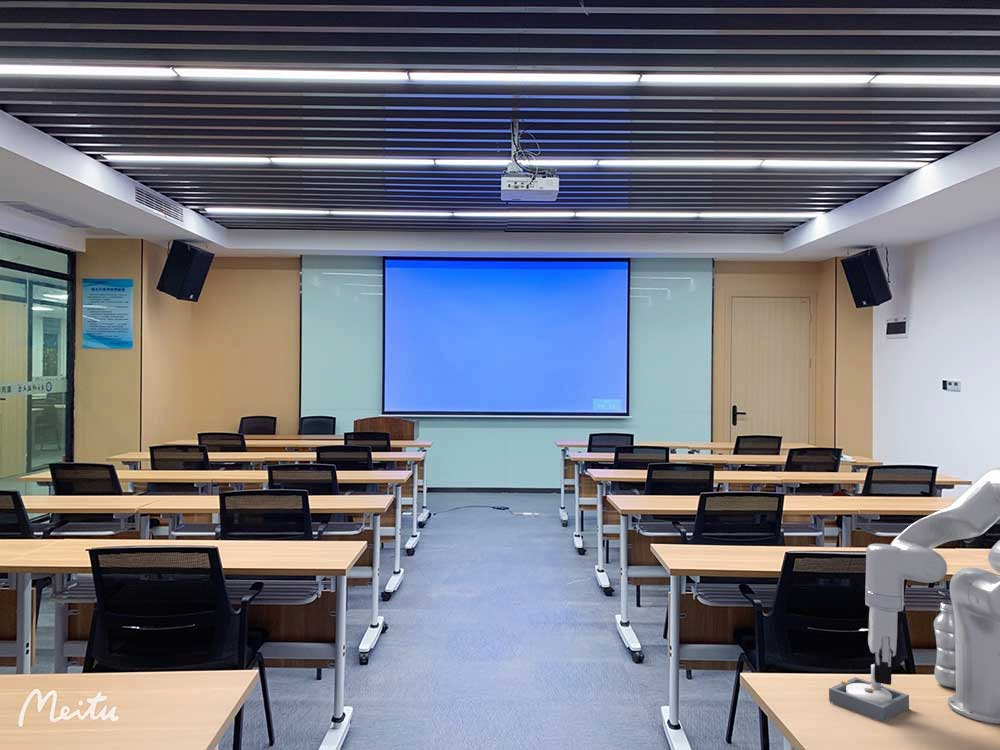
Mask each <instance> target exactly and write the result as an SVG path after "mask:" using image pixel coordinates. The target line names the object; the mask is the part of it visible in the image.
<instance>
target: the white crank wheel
mask: <svg viewBox="0 0 1000 750" xmlns="http://www.w3.org/2000/svg"><path fill="white" fill-rule="evenodd" d="M874 670H875V663H873V664H871V665H870V682H871V685H870V684H864V683H852V684H848V685H847V686H846V693H848V694H851V695H854V696H856V697H859V698H862V699H865V700H868V701H870V702H873V703H876V704H879V705H882V704H884V703H886V702H888V701H890V700H892V695H891V693H890V692H888V691H887V690H885V689H883V688H881V683H876V682H875V679H874Z"/></svg>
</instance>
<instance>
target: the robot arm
mask: <svg viewBox="0 0 1000 750" xmlns="http://www.w3.org/2000/svg"><path fill="white" fill-rule="evenodd" d="M999 520H1000V467H994V468H991V469H988V470H986V471H985V472H984V473H983V474H982V475H981V476H979V478H978V479H976V480H975V481H974V482H973V483H972V484H971V485H970V486H969V487H968V488H966V490H964V491H963V492H962V493H961V494H960V495H959V496H958V497H957V498H956V499H955V500H953V501H952V502H951V503H950V504H949V505H947V506H946V507H945V508H941V509H939V510H937V511H935V512H933V513H931V514H929V515H927V516H925V517H922V518H920V519H918V520H916V521H915V522H914V523H913V522H912V524H910V525H909V526H908V527H907V528H905V529H904V530H903V531H901V533H899V535H897V536H896V537H895V538H894V539H893V540H892V542H891V543H890V544H888V543H870V544H869V545H868V546H867V548H866V550H865V551H866V552H865V556H866V557H865V597H864V600H865V601H864V602H865V606H867V607H869V612H868V613H869V614H868V634H867V635H868V636H867V642H868V647H869V651H870V653H872V654H875V661H874V664H875V670H874V679H875V682H876V683H881V684H882V685H887V686H891V685H892V670H893V669H892V657H895V656H896V655H897V646H898V645H897V644H898V643H897V640H898V612H903V611H904V599H905V597H904V589H905V587H904V586H905V580H908V581H909V580H910V581H915V582H918V583H926V584H927V583H928V584H930V583H931V584H933V583H937V582H939V581H941V580H943V579H944V578H945V576H946V575H947V573H948V565H947V564H948V563H947V562H946V560H945V558H944V557H943V556H942V555H941V554H939V552H937V551H935V550H933V549H935V548H936V547H938V546H940V545H943V544H946V543H948V542H951V541H958V540H965V539H971V538H977V537H980V536H981V535H983V534H985V532H987V531H988V530H989V529H990V528H991V527H992V526H994V524H995V523H997V522H998V521H999ZM987 561H988V564H989V565H990V568H992V569H993V570H994V571H995V572H997V573H998V574H997V573H995V572H992V571H989V570H985V569H982V568H979V567H964V568H961V569H959V570H956V572H955V573H954V574H953V575H952V577H951V578H950V581H949V582H950V583H949V595H950V596H949V597H950V600H951V601H950V602H952V605H953V610H954V618H955V660H956V688H955V694H954V695H951V696H949V697H948V698H947V705H948V707H949V708H950V709H951V710H952V711H954V712H955V713H957V714H959V715H961V716H963V717H966V718H969V719H972V720H975V721H979V722H984V723H988V724H996V725H1000V539H999V540H998V541H997V542H996V543H995V544H994V545H993V546H992V547H991V549H990V550H989V552H988V555H987Z"/></svg>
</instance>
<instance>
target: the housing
mask: <svg viewBox="0 0 1000 750" xmlns="http://www.w3.org/2000/svg"><path fill="white" fill-rule="evenodd" d="M852 683H864V684H870V685H871V681H867V680H865V679H862V678H859V677H853V678H850V679H848V680H841V683H839V684H836V685H835V686H832V687H830V688H828V702H829V701H830V702H829V703H831V702H833V703H832V704H834V703H835V704H834V705H836V704H838V705H837V706H839V705H840V706H839V707H842V708H844V707H845V709H847V708H848V709H847V710H850V711H852V710H854V711H853V712H855V711H856V712H855V713H858V712H859V713H858V714H860V713H861V714H860V715H863V714H864V715H863V716H866V715H867V716H866V717H868V716H870V717H869V718H871V717H872V718H871V719H874V718H875V719H874V720H876V719H877V721H879V722H881V721H882V723H885V722H887V721H888V720H890V719H892V718H894V717H895V716H898V715H899V713H900V714H902V713H903V712H905V711H907V710H908V709H910V694H908V693H904V692H902V691H901V692H900V691H899V690H895V689H892V688H889V687H886V686H884V684H881V688H883V689H885V690H887V691H888V692H890V693H891V695H892V700H890V701H888V702H886V703H884V704H882V705H879V704H876V703H873V702H870V701H868V700H865V699H862V698H859V697H856V696H854V695H851V694H848V693H846V686H847V685H848V684H852ZM901 712H902V713H901ZM897 714H898V715H897ZM886 720H887V721H886ZM884 721H885V722H884Z"/></svg>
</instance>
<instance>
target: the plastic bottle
mask: <svg viewBox="0 0 1000 750" xmlns="http://www.w3.org/2000/svg"><path fill="white" fill-rule="evenodd" d="M939 604H940V605H939V606H940V607H939V611H940V613H939V614H938V615H937V616H936V617H935V619H934V620H933V628H934V629H933V630H934V635H935V640H936V641H935V643H936V658H935V659H936V662H935V665H934V672H933V673H934V677H935V678H934V679H935V680H936V682H937V683H938V684H939V685H942V686H943V687H946V688H949V689H950V688H952V689H956V660H955V618H954V610H953V605H952V601H941V602H940V603H939Z"/></svg>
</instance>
